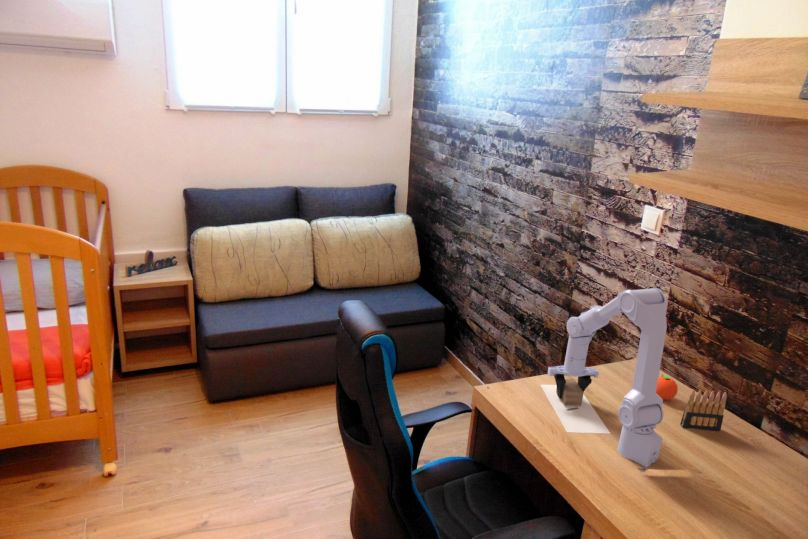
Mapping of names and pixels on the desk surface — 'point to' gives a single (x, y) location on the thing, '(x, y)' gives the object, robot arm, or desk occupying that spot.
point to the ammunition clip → (704, 412)
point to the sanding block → (572, 394)
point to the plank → (575, 414)
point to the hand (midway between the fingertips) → (568, 397)
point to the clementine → (666, 387)
